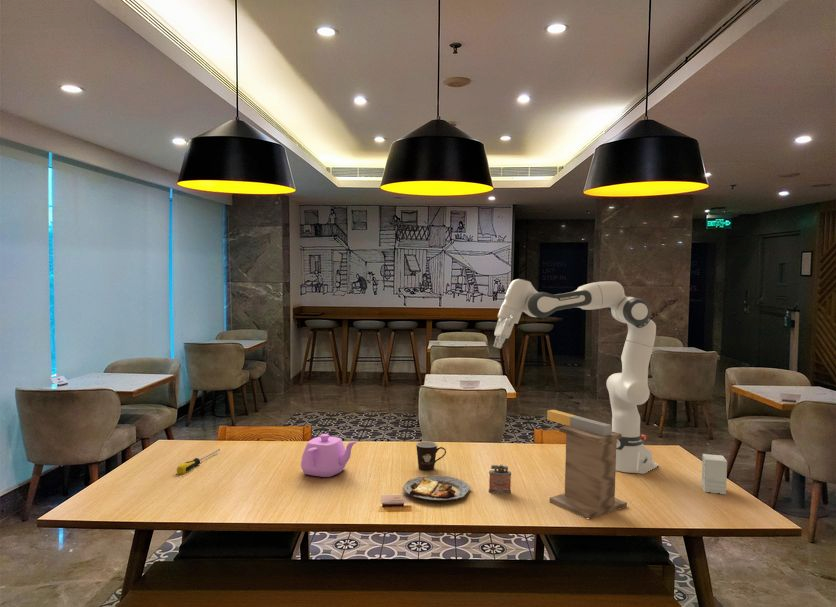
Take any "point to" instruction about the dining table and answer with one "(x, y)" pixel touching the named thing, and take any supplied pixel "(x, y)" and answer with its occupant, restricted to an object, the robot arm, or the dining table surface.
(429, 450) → the coffee mug
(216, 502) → the dining table surface
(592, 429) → the gray and orange bar
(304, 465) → the teapot
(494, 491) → the lighter
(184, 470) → the screwdriver
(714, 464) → the supplement box
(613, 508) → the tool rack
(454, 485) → the food plate
